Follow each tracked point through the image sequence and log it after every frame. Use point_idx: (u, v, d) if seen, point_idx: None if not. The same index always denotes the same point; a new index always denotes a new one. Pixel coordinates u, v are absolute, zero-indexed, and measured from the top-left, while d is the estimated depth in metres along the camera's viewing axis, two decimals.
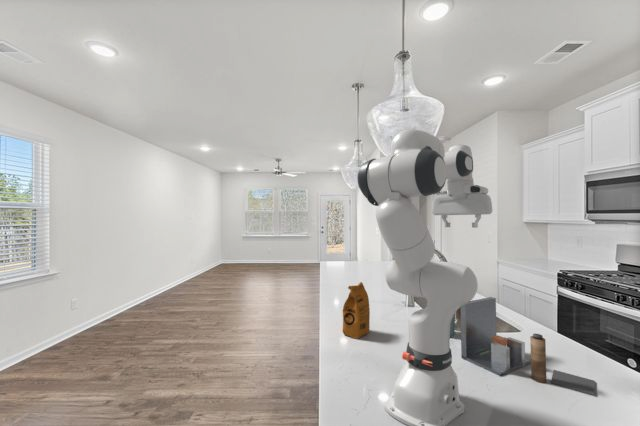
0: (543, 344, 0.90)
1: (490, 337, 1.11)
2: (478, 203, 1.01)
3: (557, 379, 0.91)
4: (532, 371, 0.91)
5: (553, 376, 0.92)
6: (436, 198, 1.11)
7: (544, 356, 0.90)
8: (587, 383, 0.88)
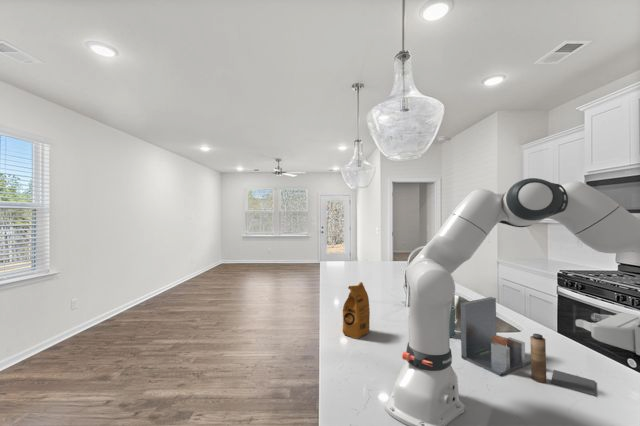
0: (543, 344, 0.90)
1: (490, 337, 1.11)
2: (615, 326, 0.71)
3: (557, 379, 0.91)
4: (532, 371, 0.91)
5: (553, 376, 0.92)
6: None
7: (544, 356, 0.90)
8: (587, 383, 0.88)
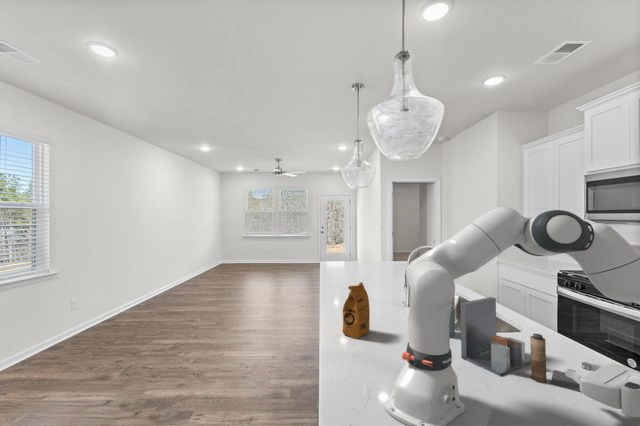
0: (543, 344, 0.90)
1: (490, 337, 1.11)
2: (603, 382, 0.73)
3: (557, 379, 0.91)
4: (532, 371, 0.91)
5: (553, 376, 0.92)
6: None
7: (544, 356, 0.90)
8: None
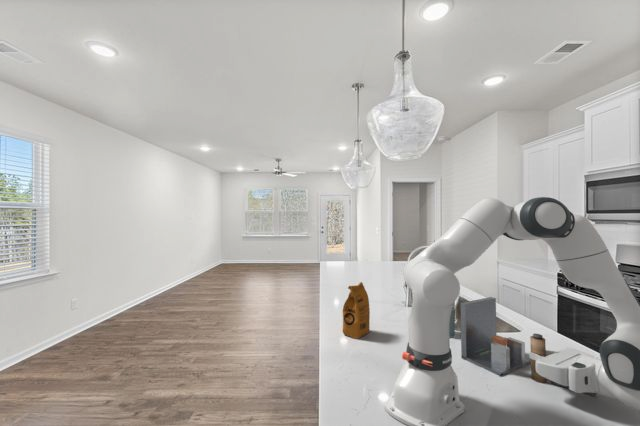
0: (543, 344, 0.90)
1: (490, 337, 1.11)
2: (555, 363, 0.82)
3: None
4: (532, 371, 0.91)
5: None
6: (591, 356, 0.86)
7: (544, 356, 0.90)
8: None
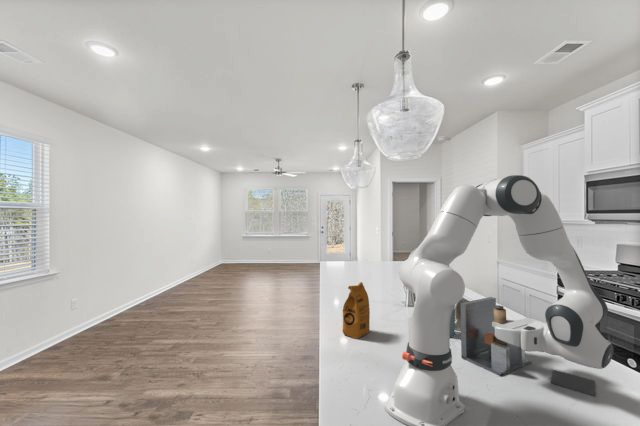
0: (503, 314, 1.01)
1: None
2: (511, 328, 0.93)
3: (557, 379, 0.91)
4: (495, 339, 1.02)
5: (553, 376, 0.92)
6: None
7: None
8: (587, 383, 0.88)
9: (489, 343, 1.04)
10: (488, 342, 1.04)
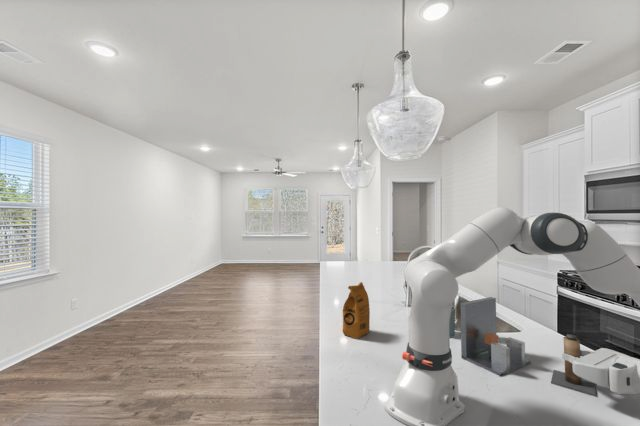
0: (578, 345, 0.88)
1: None
2: (594, 363, 0.80)
3: (557, 379, 0.91)
4: (566, 373, 0.90)
5: (553, 376, 0.92)
6: None
7: (579, 357, 0.88)
8: (587, 383, 0.88)
9: (489, 343, 1.04)
10: (488, 342, 1.05)
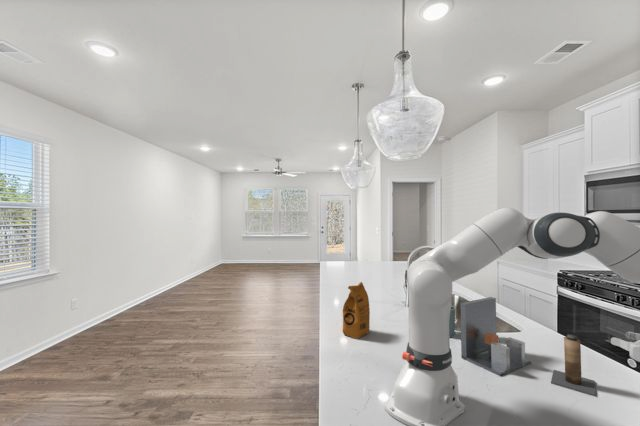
0: (578, 345, 0.88)
1: None
2: None
3: (557, 379, 0.91)
4: (566, 373, 0.90)
5: (553, 376, 0.92)
6: None
7: (579, 357, 0.88)
8: (587, 383, 0.88)
9: (489, 343, 1.04)
10: (488, 342, 1.05)
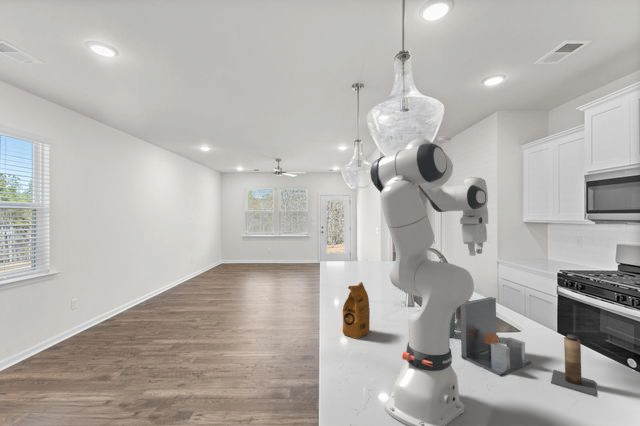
0: (578, 345, 0.88)
1: None
2: None
3: (557, 379, 0.91)
4: (566, 373, 0.90)
5: (553, 376, 0.92)
6: None
7: (579, 357, 0.88)
8: (587, 383, 0.88)
9: (489, 343, 1.04)
10: (488, 342, 1.05)
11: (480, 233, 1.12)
